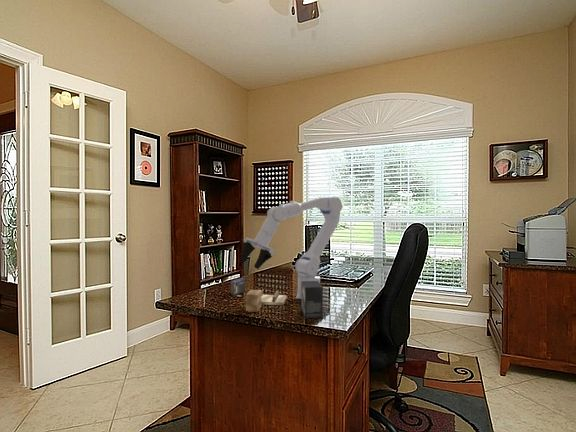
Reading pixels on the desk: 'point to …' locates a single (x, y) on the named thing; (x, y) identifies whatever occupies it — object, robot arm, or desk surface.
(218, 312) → the desk surface
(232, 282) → the mini dv tape
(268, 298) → the post slot base
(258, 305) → the rail end block
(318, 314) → the small box
